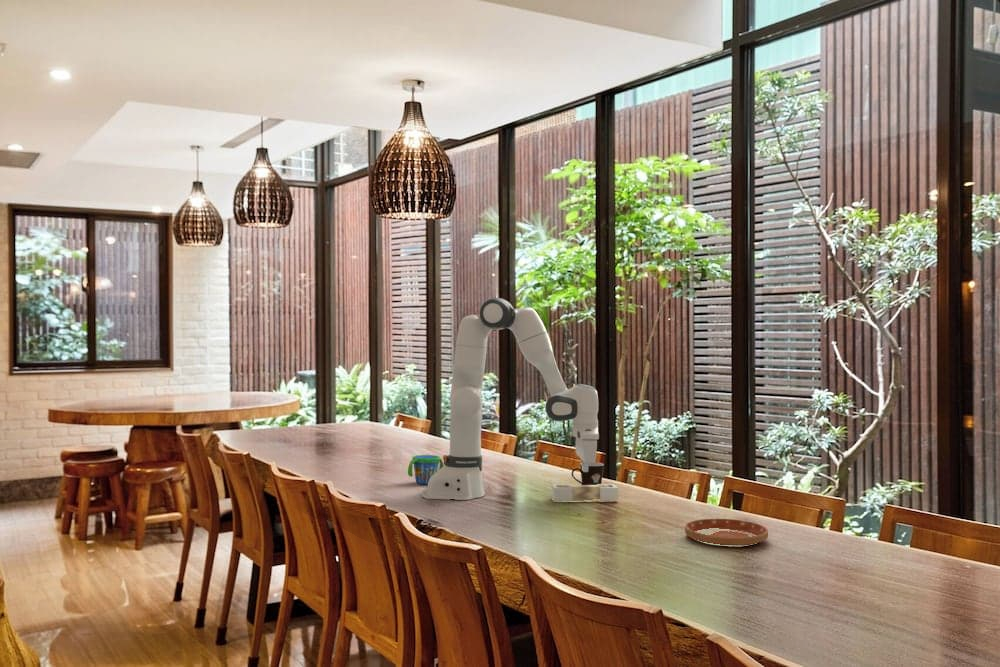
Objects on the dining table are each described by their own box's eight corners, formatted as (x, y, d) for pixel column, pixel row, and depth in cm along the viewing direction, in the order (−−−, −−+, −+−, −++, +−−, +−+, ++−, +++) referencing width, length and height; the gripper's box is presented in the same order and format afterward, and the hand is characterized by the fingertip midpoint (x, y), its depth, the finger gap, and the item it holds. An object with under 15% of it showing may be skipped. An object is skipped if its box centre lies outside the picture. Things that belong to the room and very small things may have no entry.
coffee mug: (603, 489, 314) (603, 462, 314) (603, 494, 306) (604, 466, 306) (571, 488, 316) (571, 461, 316) (571, 493, 307) (571, 465, 307)
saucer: (709, 552, 228) (710, 539, 228) (670, 532, 250) (671, 520, 250) (784, 547, 234) (784, 534, 234) (740, 528, 256) (740, 516, 256)
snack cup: (436, 479, 332) (436, 453, 332) (450, 483, 324) (451, 456, 323) (401, 483, 323) (401, 456, 323) (415, 487, 314) (415, 460, 314)
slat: (562, 499, 292) (562, 486, 292) (560, 498, 295) (561, 485, 295) (608, 499, 293) (608, 486, 293) (606, 497, 296) (606, 484, 296)
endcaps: (554, 502, 290) (554, 488, 290) (551, 498, 297) (551, 484, 296) (618, 502, 291) (618, 487, 291) (613, 498, 298) (614, 484, 298)
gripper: (571, 427, 304) (571, 466, 304) (581, 435, 284) (580, 476, 284) (588, 427, 304) (588, 466, 304) (600, 435, 284) (599, 476, 284)
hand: (584, 471), depth 294 cm, fingers closed
